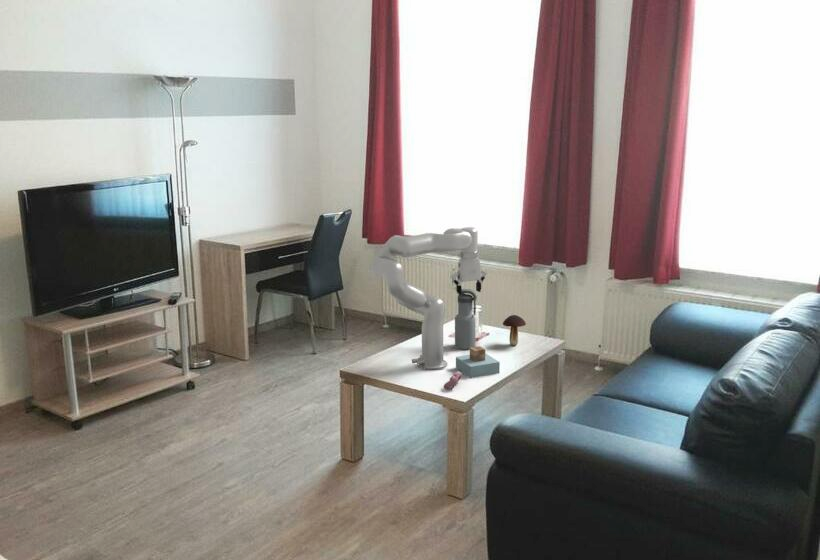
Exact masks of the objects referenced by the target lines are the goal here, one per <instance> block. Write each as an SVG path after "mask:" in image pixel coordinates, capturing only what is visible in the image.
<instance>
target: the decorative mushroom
mask: <svg viewBox="0 0 820 560" xmlns="http://www.w3.org/2000/svg"><path fill="white" fill-rule="evenodd" d="M502 325H503V327H510V330H509V331H510V332H509V344H510V345H511V346H513V345H514V346H517V345H518V343H519V330H518V328H519V327H520V328H521V327H524V326H526V325H527V322H526V321H525V320H524V319H523V318H522V317H521V316H519V315H515V314H511V315H509V316H508V317H507V318H505V319H504V320H503V321H502Z"/></svg>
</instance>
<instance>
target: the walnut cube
mask: <svg viewBox="0 0 820 560" xmlns="http://www.w3.org/2000/svg"><path fill="white" fill-rule="evenodd" d="M485 353H486V348H484V347H482V346H480V345H477V346H475V347H470V349H469V355H470V359H471V360H473V361H474V362H478V361H484V360H485Z"/></svg>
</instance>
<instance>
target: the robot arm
mask: <svg viewBox="0 0 820 560" xmlns="http://www.w3.org/2000/svg"><path fill="white" fill-rule="evenodd" d="M456 251H459V253H458V254H457V256H458V257H459V259H458V262H457V263H458V264H457V271H456V272H455V273H454V274H452V275H451V276H450V278H451V280H452V282H453V283H454V284H455V285H456V293H457V294H458V295H459V294H462V289H463V288H462V284H463V283H465V282H473V281H476V283H475V292H479V293H481V291H482V283H483V282H484V280H485V278H486V276H487V272H485V271H483V270H482V267H481V260H480V257H478V229H477V228H476V227H471V226H468V227H463V228H454V227H453V228H448V229H446V230H445V231H444V232H443V233H432V232H426V233H421V234H417V235H411V236H403V235H398V234H395V235H392V236H391V237H390V238H389V239H388V240H387V241H386V242H385V243H384V244H383V246H382V247H381V248H380V250H379V251H378V252H377V254H376V255H375V256H374V258H373V259H372V261H371V266H370V267H371V271H372V273H373V274H375V275H376V276H379V277H380V278H383V279H386V280H385V281H386V288H387V292H388V293H389V295H390V296H392V297H393V298H394V300H395V301H396V302H397V303H398V304H399V305H401V306H403V307H405V308H407V309H409V310H411V311H412V312H414V313H417V314H419V315H422V316H424V318H423V321H422V323H421V354H420V355H419V357H418V358H411V364H417V365H418V367H419V368H422V369H424V370H428V369H429V370H431V371H436V370H441V369H444V368H446V367H447V366H448V362H447V361H446V360H445V359H444V320H445V314H446V304H445V302H444V300H443V299H441V298H440V297H437V296H435V295H433V294H429V293H426V292H424V290H423V289H422V288H421V287H419V286H417V285H415V284H412V283H411V282H409V281H408V280H405V278H404V277H405V276H404V268H403V265H402V263H400V261H398V260H396V258H397V257H401V258H412V257H416V256H422V255H426V254H432V253H433V254H434V253H436V254H437V253H448V252H456ZM456 278H457V279H456ZM429 370H428V371H429Z"/></svg>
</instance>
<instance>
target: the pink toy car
mask: <svg viewBox="0 0 820 560" xmlns="http://www.w3.org/2000/svg"><path fill="white" fill-rule="evenodd" d="M463 374H464V373H463V372H461V371H457V372H455V373H453V374H452V376H451V377H450V378H449V381H447V382H445V383H444V384H443V388H444V390H448V389H451V388H453V389H454V388H455V387H456V386H457V385H458V384H459V381H460V380H461V379H462V377H463Z"/></svg>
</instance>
